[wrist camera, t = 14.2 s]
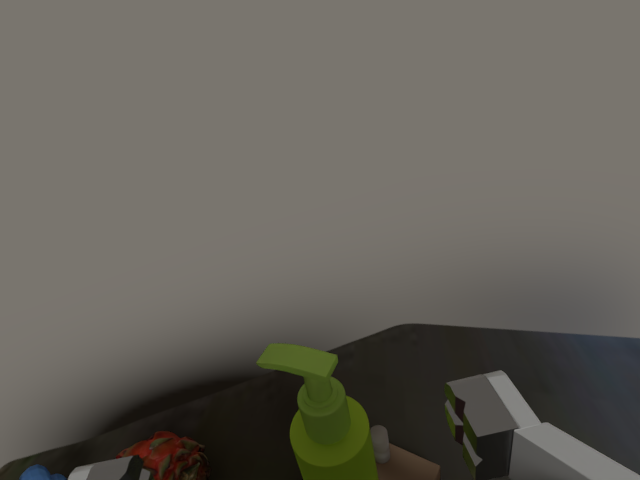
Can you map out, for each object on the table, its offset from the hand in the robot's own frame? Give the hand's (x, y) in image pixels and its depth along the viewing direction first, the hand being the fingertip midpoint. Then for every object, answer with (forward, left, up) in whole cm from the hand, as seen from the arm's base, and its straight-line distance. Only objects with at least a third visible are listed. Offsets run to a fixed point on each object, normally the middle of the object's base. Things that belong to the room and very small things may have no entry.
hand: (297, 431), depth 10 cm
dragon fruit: (-2, -27, -32) cm, 42 cm away
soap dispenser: (-9, -8, -30) cm, 32 cm away
